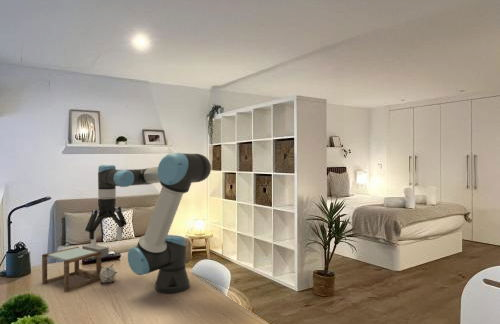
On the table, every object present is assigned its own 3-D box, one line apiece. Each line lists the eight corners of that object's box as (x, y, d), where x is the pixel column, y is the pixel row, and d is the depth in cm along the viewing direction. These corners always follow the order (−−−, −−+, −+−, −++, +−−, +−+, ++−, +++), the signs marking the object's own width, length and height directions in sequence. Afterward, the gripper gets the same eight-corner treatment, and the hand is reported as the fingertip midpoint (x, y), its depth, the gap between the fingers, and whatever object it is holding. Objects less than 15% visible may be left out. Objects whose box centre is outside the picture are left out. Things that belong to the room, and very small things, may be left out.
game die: (109, 291, 155) (111, 278, 150) (92, 285, 155) (93, 271, 150) (119, 276, 163) (121, 263, 157) (103, 270, 163) (104, 257, 158)
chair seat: (109, 255, 166) (109, 247, 166) (67, 267, 147) (66, 258, 147) (90, 251, 174) (90, 243, 174) (47, 261, 156) (47, 253, 156)
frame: (101, 280, 160) (101, 252, 160) (65, 292, 145) (65, 261, 145) (77, 273, 170) (77, 246, 170) (42, 283, 155) (42, 254, 155)
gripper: (124, 195, 169) (124, 236, 169) (76, 200, 148) (76, 248, 148) (134, 196, 165) (133, 238, 165) (86, 201, 144) (86, 250, 144)
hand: (106, 243), depth 156 cm, fingers open, 13 cm apart
